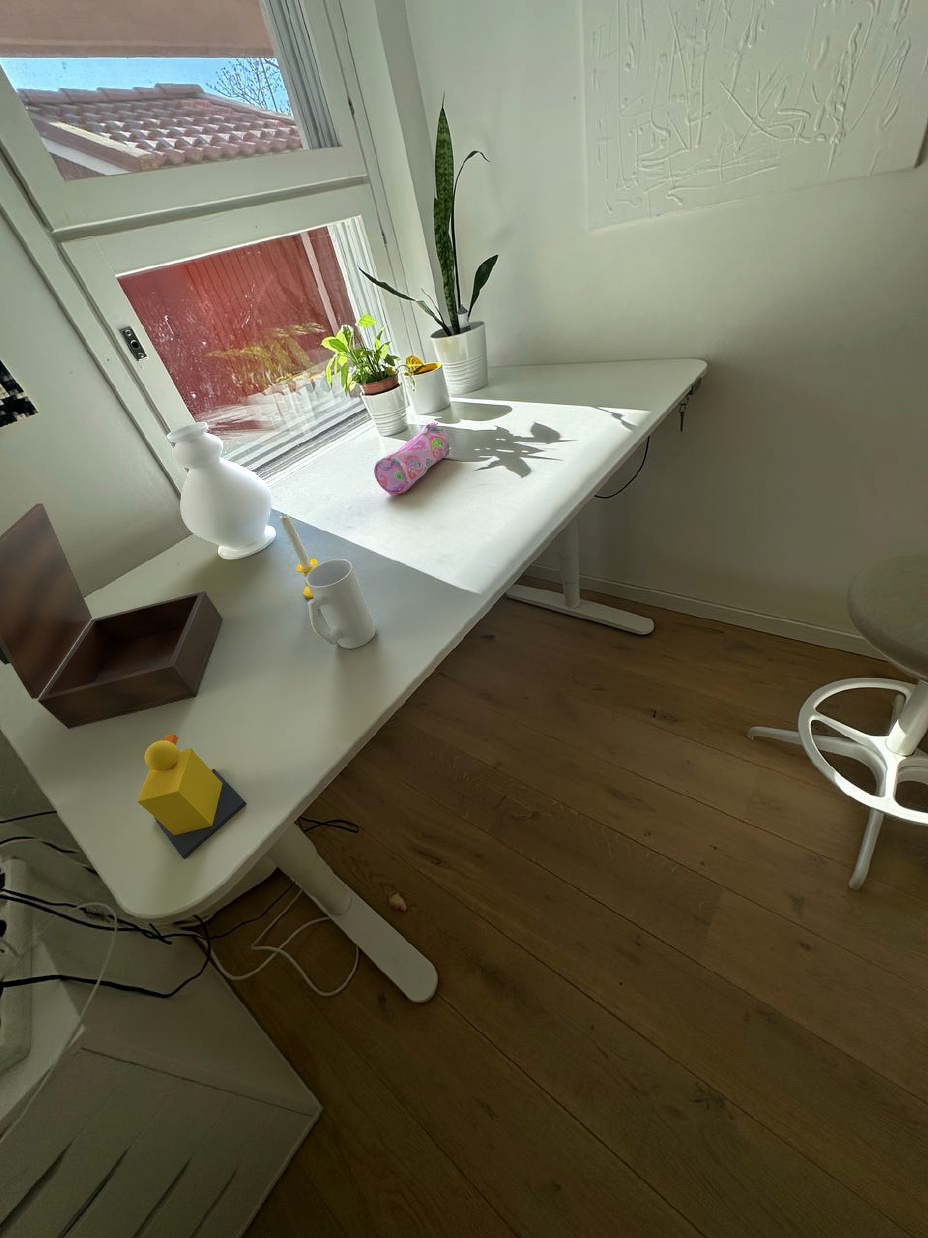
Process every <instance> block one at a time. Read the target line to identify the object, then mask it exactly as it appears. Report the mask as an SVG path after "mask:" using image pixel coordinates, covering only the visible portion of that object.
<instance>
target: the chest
mask: <svg viewBox="0 0 928 1238" xmlns="http://www.w3.org/2000/svg"><path fill="white" fill-rule="evenodd" d="M223 620H224V619H223V616H222V615H221V614H220V612H219V611H218V609H217V607H216V606H215V604H214V603H213V601H212V600H211V598H210V597H209V595H208V593H207V592H206V590H201V591H197V592H193V593H190V594H185V595H182V596H178V597H174V598H171V599H167V600H162V601H159V602H154V603H150V604H148V605H142V606H138V607H135V608H130V609H127V610H123V611H120V612H116V613H112V614H109V615H104V616H100V617H96V618H93V619H92V618H91V620H90V621H89V623H88V624H87V626H86V627H85V629H84V630H83V632H82V633H81V635H80V636H79V638H78V639H77V641H76V642H75V644H74V645H73V647H72V648H71V650H70V651H69V653H68V654H67V656H66V657H65V659H64V660H63V662H62V663H61V665H60V666H59V668H58V669H57V671H56V672H55V674H54V675H53V677H52V678H51V680H50V681H49V683H48V684H47V686H46V687H45V689H44V690H43V692H42V693H41V694H40V696H39V697H38V699H37V702H38V703H39V704H40V705H41V706H42V707H43V708H44V709H46V711H48V712H49V714H51V715H52V716H53V717H54V718H55V719H56V720H58V721H59V722H60V723H61V724H62V725H63V726H64V727H65V728H66V729H72V728H77V727H81V726H84V725H89V724H93V723H97V722H100V721H104V720H107V719H113V718H116V717H119V716H124V715H128V714H131V713H137V712H139V711H143V710H147V709H151V708H155V707H159V706H163V705H166V704H170V703H174V702H178V701H182V700H187V699H190V698H194V697H195V698H196V697H197V695H198V692H199V689H200V686H201V683H202V681H203V677H204V675H205V672H206V669H207V666H208V664H209V661H210V658H211V655H212V652H213V649H214V646H215V644H216V640H217V637H218V635H219V632H220V629H221V626H222V623H223Z"/></svg>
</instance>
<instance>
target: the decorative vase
mask: <svg viewBox="0 0 928 1238" xmlns="http://www.w3.org/2000/svg"><path fill="white" fill-rule="evenodd" d="M208 429H209V424H208V423H207V422H206V421H198V422H193V423H189V424H186V425H183V426H181V427H177V428H176V429H173V430H172V431H169V433H168V434H167V435H166V439H167V441H168V442H170V443H175V444H174V447H173V449H172V451H171V458H172V460H173V462H174V463H175V464H176V465H178V466H179V467H182V468H185V469H188V471H187V475H186V477H185V479H184V482H183V485H182V489H181V495H180V503H179V504H180V505H179V507H180V509H179V512H180V516H181V518H182V521H183V523H184V525H185V526H186V527H187V530H189V531H190V532H191V533H192V534H193V535H195V536H197V537H198V538H200V539H203V540H204V541H208V542H211V543H213V544H215V545H218V546H219V547H218V548H217V552H218V553H217V554H218V555H219V557H221V558H222V559H224V560H240V559H243V558H247V557H250V556H252V555H255V554H257V553H259V552H260V551H262V550H264V549H266V548H267V547H269V545H271V544H272V543H273V541H274V540H275V539H276V536H277V531H276V530H275V527H273V526H272V525H268V523H269V520H270V516H271V514H272V513H271V512H272V508H273V496H272V493H271V490H270V488H269V487H268V485H267V483H266V482H265V481H264V480H263V479H262V478H261V477H259V476H258V475H257V474H256V473H254V472H253V471H251V470H249V469H247V468H246V467H244V466H242V465H240V464H237V463H235V462H232V461H230V460H228V459H225V458H223V457H221V456H222V454H223V451H224V443H223V441H222V440H221V438H219V437H218V436H216V435H215V434H211V433H208V432H207V431H208Z"/></svg>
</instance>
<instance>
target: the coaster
mask: <svg viewBox="0 0 928 1238" xmlns="http://www.w3.org/2000/svg"><path fill="white" fill-rule="evenodd" d="M210 770H211V771H212V772H213V773H214V774H215V776H216V777H217V778H218V779H219V780H220V781H221V782H222V788H221V792H220V796H219V800H218V804H217V808H216V812H215V816H214V820H213V824H212V826H210V827H206V828H202V829H198V830H194V831H190V832H186V833H182V834H178V835H174V834H173V833H172V832H170V831H169V830H168V829H167V828H166V827H165V826H164V825H163V824H162V823H160V822H159V821H158V820H157V819H156V818H155V817H154V816H153V819H154V820H155V821H156V823H157V824H158V826H159V828H161V830H162V831H163V833H164V835H165V836H166V837H167V839H168V840H169V841H170V843H171V844H172V846H173V847H174V849H175V850H176V851H177V853H178V855H180V857H181V858H182V859H183V860H185V859H186V858H188V857H189V856H190V855H191V854H192V853H193V852H195V850H197V848H198V847H200V846H201V845H202V844H204V843H205V842H206V840H208V839H209V838H210V837H211V836H213V834H214V833H216V832H217V831H218V830H219V829H220V828H221V827H222V826H223V825H224V824H226V823H227V822H228V821H229V820H230V819H231V818H233V816H235V815H236V814H237V813H238V812H239V811H240V810H242V809H243V808H244V807H245V806H246V805H247V802H246V801H245V799H243V798H242V796H240V794H238V792H237V791H236V790H235V789H234V787H232V786H231V785H230V783H229V782H227V781H226V779H225V778H224V777H223V776H222V775H221V774H220V773H219V771H217V770H216V769H215V768H213V769H210Z"/></svg>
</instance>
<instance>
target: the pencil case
mask: <svg viewBox="0 0 928 1238" xmlns="http://www.w3.org/2000/svg"><path fill="white" fill-rule="evenodd" d="M437 425H439V422H429V423H427V424H426V425H424V426H422V427H421V428H420V430H419V432H418V433H417V435H415V436H414V437H413V438H411V439H410V440H408V441H407V442H406V443H404V445H401V447H400V448H399V449H397V450H396V451H395V452H392V453H390V454H387V455H386V456H384V457H382V458H380V459H379V460H377V461H376V463H375V465H374V469H373V473H374V477H375V480H376V482H377V484H378V485H379V486H380V487H381V488H382V490H383V491H385V492H386V493H388V494H389V495H391V496H397V495H401V494H404V493H406V492H407V491H408V490H410V488H412V487H413V485H414V484H415V482H417V481H418V480H419V479H420V478H421V477H423V476H424V475H425V474H426V473H427V471H428V469H430V468H431V467H432V466H434V465H436V464H437V463H438V462H440V461H441V460H442V459H445V458H447V457H448V456H449V454H450V449H451V448H450V441H449V436H448V433H447V432H446V430H444V429H443V428H441V427H439V426H437Z"/></svg>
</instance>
